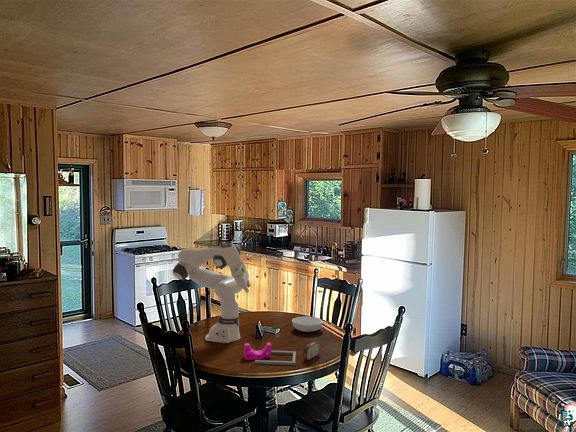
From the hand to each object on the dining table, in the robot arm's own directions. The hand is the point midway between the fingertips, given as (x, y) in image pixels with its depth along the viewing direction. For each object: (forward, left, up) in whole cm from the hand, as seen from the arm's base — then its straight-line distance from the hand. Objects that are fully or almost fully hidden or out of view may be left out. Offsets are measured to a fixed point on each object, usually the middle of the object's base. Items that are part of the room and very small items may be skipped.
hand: (248, 289), depth 256 cm
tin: (+38, -5, -38) cm, 54 cm away
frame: (+17, -9, -37) cm, 42 cm away
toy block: (+7, -8, -38) cm, 39 cm away
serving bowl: (+35, +45, -38) cm, 68 cm away
